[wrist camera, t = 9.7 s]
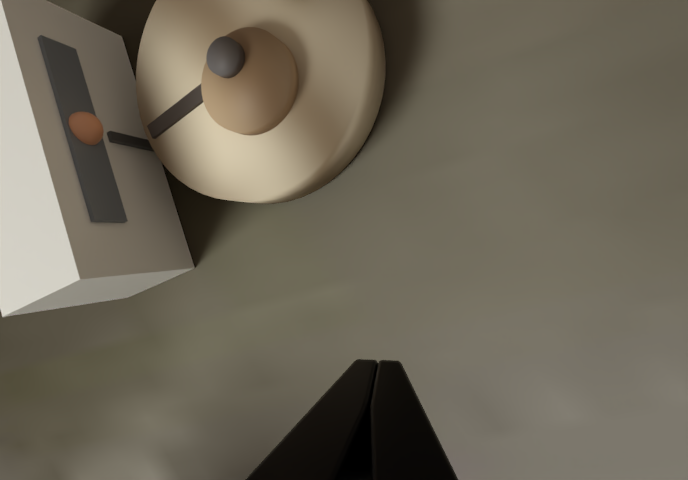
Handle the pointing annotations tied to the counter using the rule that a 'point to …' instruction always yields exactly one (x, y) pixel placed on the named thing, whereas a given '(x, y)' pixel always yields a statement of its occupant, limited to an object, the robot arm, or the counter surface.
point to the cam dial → (259, 92)
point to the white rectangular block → (76, 168)
